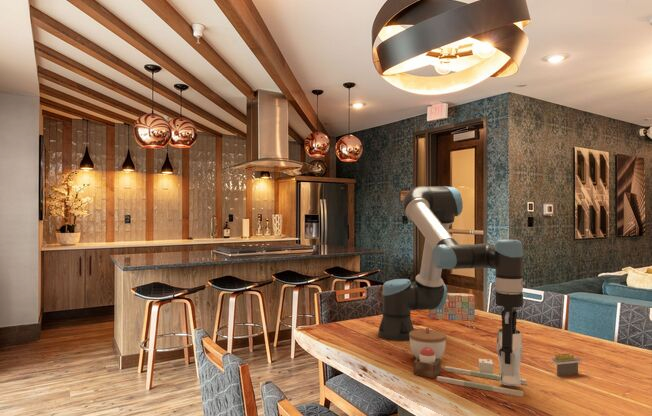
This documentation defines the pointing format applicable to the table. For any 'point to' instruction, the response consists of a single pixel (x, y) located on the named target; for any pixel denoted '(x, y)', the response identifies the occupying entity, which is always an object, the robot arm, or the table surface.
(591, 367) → the table surface
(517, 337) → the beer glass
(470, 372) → the track
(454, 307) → the stack of blocks
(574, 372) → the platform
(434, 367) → the button housing
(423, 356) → the dome button
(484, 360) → the die
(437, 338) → the lidded bowl
